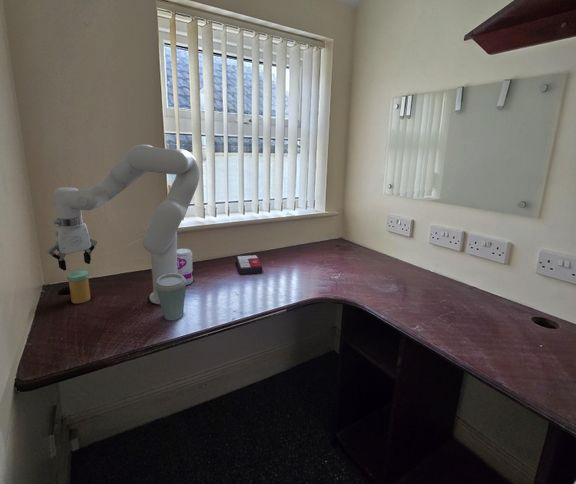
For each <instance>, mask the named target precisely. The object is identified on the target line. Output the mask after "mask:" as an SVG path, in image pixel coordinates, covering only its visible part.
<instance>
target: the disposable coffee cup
mask: <svg viewBox="0 0 576 484" xmlns="http://www.w3.org/2000/svg"><path fill="white" fill-rule="evenodd" d="M186 287H187V285H186V278H184V276H182V275H181V274H178V273H168V274H164V275H161V276H160V277H159V278H157V281H156V282H155V288H156V290H157V293H158V297H159V301H160V304H159V305H160V308H161V310H162V316H163V317H164V319H165V320H167V321H177V320H179V319H181V318H182V317H183V314H184V309H185V299H186Z"/></svg>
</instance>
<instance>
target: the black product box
mask: <svg viewBox="0 0 576 484" xmlns="http://www.w3.org/2000/svg"><path fill="white" fill-rule="evenodd" d="M236 266H237V268H238V271H239V272H238V273H239V275H249V274H263V266H262V264H261V262H260V260H259V257H258V255H256V254H254V255H238V256H236Z"/></svg>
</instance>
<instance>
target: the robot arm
mask: <svg viewBox="0 0 576 484" xmlns="http://www.w3.org/2000/svg"><path fill="white" fill-rule="evenodd" d="M147 173H156V174H164V175H174V176H175V175H176V176H175V178H174V180H173V182H172V184H171V186H170V189H169V190H168V193H167V195H166V197H165V199H163V201H162V202H160V203H159V204H158V205H157V206H156V208H155V210H154V211H153V213H152V215H151V217H150V220H149V223H148V225H147V227H146V229H145V231H144V233H143V236H142V245H143V247H144V249H145V250H146V251H147V252H149V253H150V265H151V278H152V292H151V293H150V295H149V301H150V302H151V303H153V304H155V305H161V304H160V301H159V297H158V293H157V290H156V288H155V282H156V281H157V278H159V277H160V276H161V275H164V274H168V273H178V269H177V249H178V229H179V227H180V225H181V223H182V221H183V220H184V218H185V217H186V215H187V211H188V208H189V206H190V204H191V202H192V200H193V197H194V195H195V193H196V191H197V188H198V186H199V182H200V178H201V170H200V166H199V163H198V161H197V158H195V156H194V155H193V154H192V153H191V152H190V151H188V150H186V149H184V148H174V149H172V148H163V147H155V146H153V145H151V144H146V143H145V144H144V143H143V144H142V143H141V144H135V145H133V146H131V147H130V148H129V149H128V151H127V153H126V155H125V156H124V157H123V158H121V159H120V160H119V161H117V162H116V163H115V164H113V165H112V166H111V167H110V171H109V173H108V174H107V175H106V176H105V177H104V178H103V179H101V180H100V181H99V182H97V183H96V184H94V185H93V186H90V187H87V188H83V189H78V188H76V187H72V186H71V187H57V188H55V190H54V192H53V193H54V195H53V196H54V201H55V202H54V203H55V210H56V219H55V220H53V221H52V222H53V225H57V226H56V228H55V243H54V245H52V246H51V247H49V249H48V250H46V253H47V254H48V255H50V256H51V257H52V258H54V259H56V260H57V262H58V268H59V269H60V270H62V271H64V272H65V271H67V262H66V260H65V257H66V256H67V255H69V254H74V253H78V252H82V251H83V262H84V263H85V264H87V265H90V264H91V261H92V257H91V255H92V252H93V251H94V250H95V248H96V245H97V244H98V241H97V240H94V239H92V238H91V237H90V233H89V230H88V227H87V224H86V223H84V221H83V212H82V211H92V210H94V209H97V208H99V207H100V206H103V205H105V204H106V203H108V202H109V201H111V200H112V199H113V198H115V197H116V196H118V195H119V194H120V193H122V192H123V191H124V190H125V189H127V188H128V187H129V186H131V185H132V184H133V183H135V182H136V181H137V180H138V179H140V178H142V177H143V176H144V175H146V174H147ZM56 251H57V252H58V253H57V254H56V253H55V252H56Z"/></svg>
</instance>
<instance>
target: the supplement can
mask: <svg viewBox="0 0 576 484" xmlns="http://www.w3.org/2000/svg"><path fill="white" fill-rule="evenodd" d="M177 269H178V274H181V275H182V276H184V278H186V286H189V285H190V284H192V283H193V281H194V270H193V269H194V267H193V252H192V250H191V249H189V248H183V247H181V248H177Z"/></svg>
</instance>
